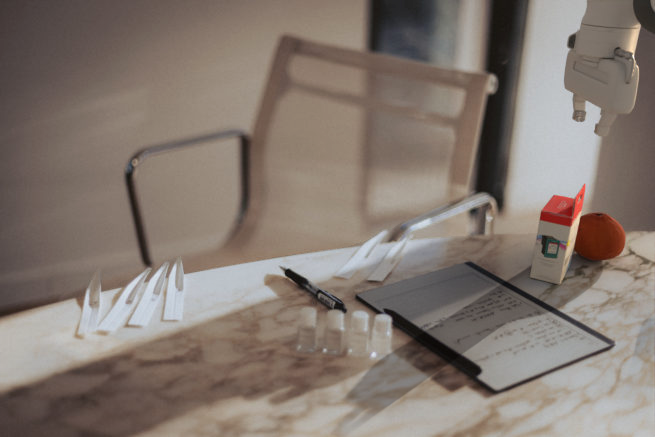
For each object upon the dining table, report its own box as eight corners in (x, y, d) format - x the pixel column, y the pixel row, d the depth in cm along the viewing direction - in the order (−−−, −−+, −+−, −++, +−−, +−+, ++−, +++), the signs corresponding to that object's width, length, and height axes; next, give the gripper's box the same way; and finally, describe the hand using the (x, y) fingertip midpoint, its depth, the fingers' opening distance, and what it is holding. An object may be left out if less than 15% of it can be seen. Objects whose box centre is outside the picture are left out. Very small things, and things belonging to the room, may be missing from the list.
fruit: (555, 246, 110) (563, 205, 107) (602, 245, 112) (610, 203, 109) (580, 270, 102) (589, 225, 99) (630, 267, 104) (641, 223, 100)
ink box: (541, 258, 106) (555, 176, 100) (571, 265, 104) (588, 182, 98) (528, 278, 99) (543, 191, 94) (560, 286, 97) (577, 198, 91)
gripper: (658, 54, 91) (636, 145, 96) (599, 37, 110) (583, 114, 115) (615, 52, 91) (595, 144, 96) (564, 35, 109) (550, 113, 115)
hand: (588, 127), depth 106 cm, fingers open, 8 cm apart
